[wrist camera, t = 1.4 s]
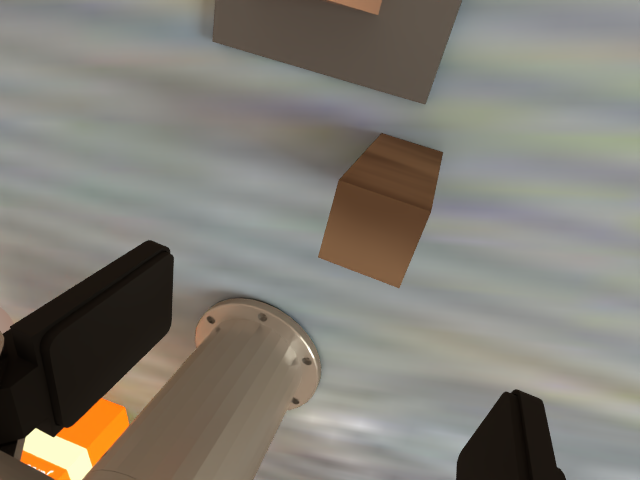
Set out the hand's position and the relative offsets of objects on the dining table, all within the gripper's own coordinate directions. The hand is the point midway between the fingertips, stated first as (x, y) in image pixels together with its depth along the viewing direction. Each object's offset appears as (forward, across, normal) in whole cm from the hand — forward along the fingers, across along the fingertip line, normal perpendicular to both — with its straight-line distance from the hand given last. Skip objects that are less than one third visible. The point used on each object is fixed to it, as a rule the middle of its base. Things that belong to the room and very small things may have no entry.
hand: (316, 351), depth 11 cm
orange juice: (+18, +26, +45) cm, 55 cm away
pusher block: (+18, 0, 0) cm, 18 cm away
